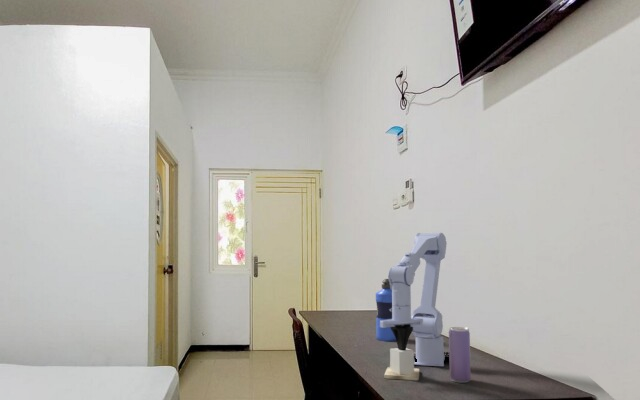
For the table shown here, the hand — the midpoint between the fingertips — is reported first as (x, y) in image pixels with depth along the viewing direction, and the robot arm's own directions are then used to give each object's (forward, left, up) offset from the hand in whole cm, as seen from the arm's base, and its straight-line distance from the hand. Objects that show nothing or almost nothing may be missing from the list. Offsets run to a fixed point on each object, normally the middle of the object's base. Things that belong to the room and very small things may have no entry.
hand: (401, 350), depth 153 cm
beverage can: (-17, +2, -8) cm, 19 cm away
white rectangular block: (0, 0, -6) cm, 7 cm away
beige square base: (0, 0, -8) cm, 8 cm away
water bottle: (+10, -56, -8) cm, 57 cm away
